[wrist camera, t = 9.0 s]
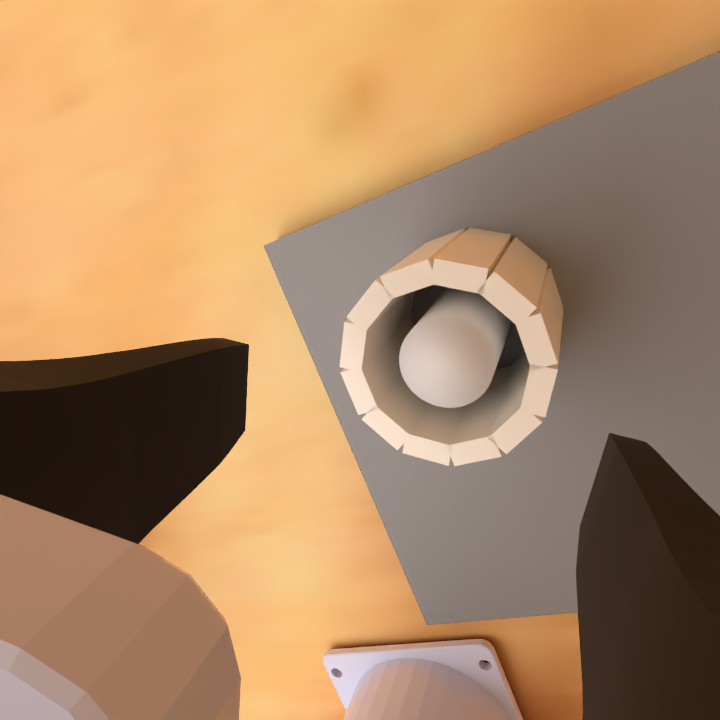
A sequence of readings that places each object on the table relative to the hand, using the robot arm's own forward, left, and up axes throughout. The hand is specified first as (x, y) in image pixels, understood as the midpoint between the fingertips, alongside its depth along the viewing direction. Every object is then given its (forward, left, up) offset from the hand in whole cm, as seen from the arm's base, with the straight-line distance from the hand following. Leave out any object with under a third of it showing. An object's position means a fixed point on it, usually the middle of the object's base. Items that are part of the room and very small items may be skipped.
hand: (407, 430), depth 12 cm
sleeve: (0, 0, -8) cm, 8 cm away
